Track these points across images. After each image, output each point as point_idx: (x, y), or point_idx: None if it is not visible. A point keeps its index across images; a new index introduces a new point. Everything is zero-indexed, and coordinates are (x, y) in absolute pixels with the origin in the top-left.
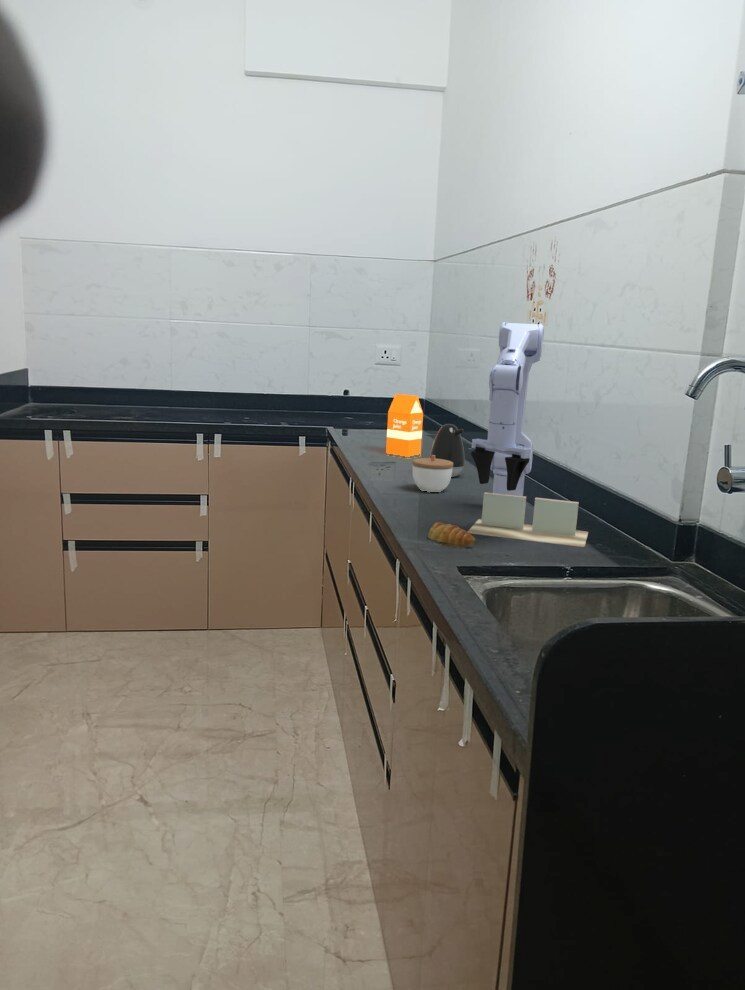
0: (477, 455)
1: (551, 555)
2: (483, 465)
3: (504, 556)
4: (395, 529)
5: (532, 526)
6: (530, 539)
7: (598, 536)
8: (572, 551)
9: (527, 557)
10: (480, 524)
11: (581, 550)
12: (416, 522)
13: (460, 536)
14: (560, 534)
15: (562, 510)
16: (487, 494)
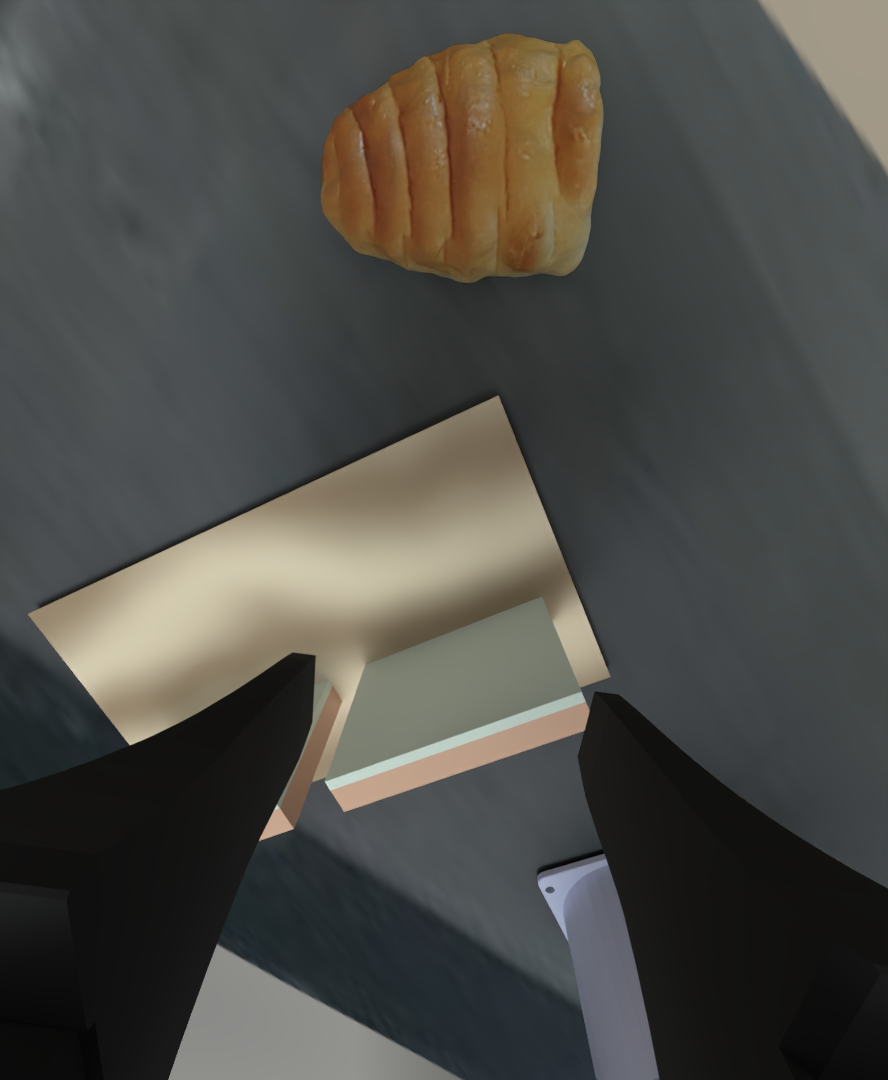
0: (827, 920)
1: (37, 418)
2: (668, 851)
3: (125, 193)
4: (866, 151)
5: (322, 690)
6: (230, 541)
7: None
8: (46, 554)
9: (59, 284)
10: (544, 593)
11: (42, 597)
12: (839, 408)
13: (369, 110)
14: None
15: None
16: (554, 695)
